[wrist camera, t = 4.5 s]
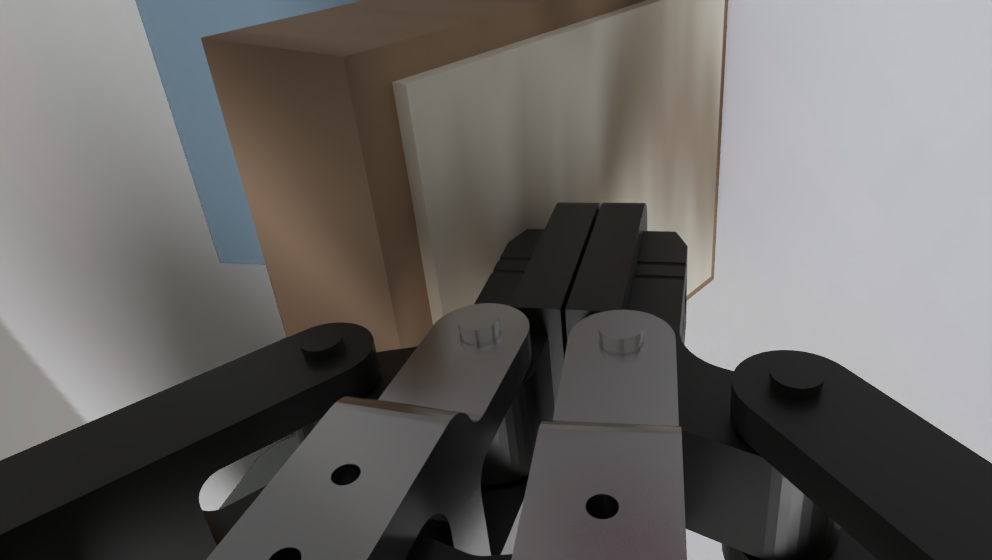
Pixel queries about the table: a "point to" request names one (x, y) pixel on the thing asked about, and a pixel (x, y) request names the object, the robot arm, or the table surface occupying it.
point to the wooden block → (462, 141)
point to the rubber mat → (211, 104)
